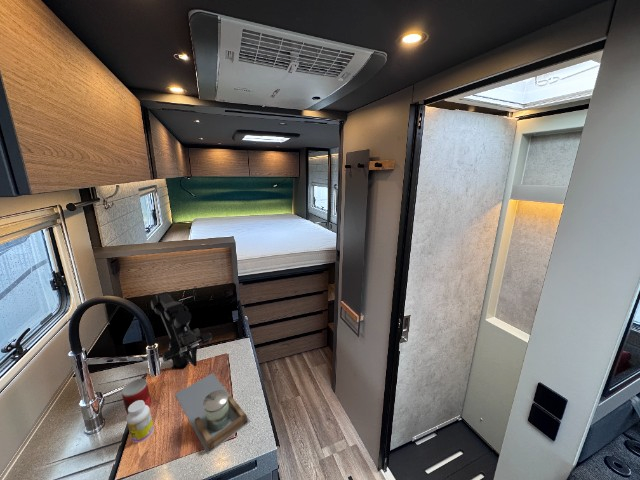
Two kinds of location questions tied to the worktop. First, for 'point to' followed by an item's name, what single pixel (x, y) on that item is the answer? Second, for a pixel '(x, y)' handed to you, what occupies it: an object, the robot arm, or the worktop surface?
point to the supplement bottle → (139, 421)
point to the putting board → (194, 407)
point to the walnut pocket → (226, 431)
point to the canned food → (136, 393)
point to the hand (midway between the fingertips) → (195, 366)
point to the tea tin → (216, 410)
